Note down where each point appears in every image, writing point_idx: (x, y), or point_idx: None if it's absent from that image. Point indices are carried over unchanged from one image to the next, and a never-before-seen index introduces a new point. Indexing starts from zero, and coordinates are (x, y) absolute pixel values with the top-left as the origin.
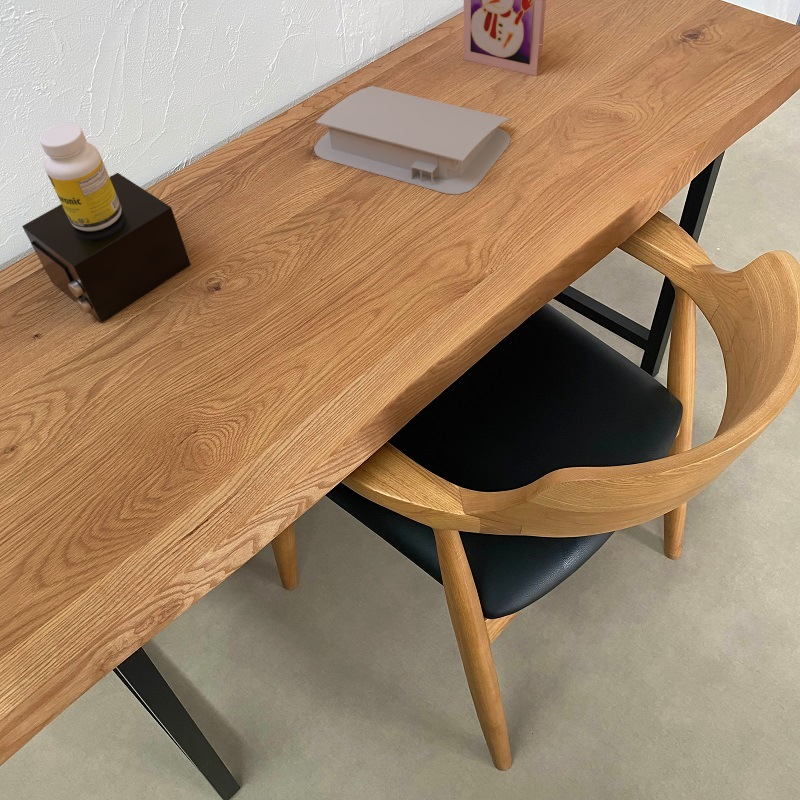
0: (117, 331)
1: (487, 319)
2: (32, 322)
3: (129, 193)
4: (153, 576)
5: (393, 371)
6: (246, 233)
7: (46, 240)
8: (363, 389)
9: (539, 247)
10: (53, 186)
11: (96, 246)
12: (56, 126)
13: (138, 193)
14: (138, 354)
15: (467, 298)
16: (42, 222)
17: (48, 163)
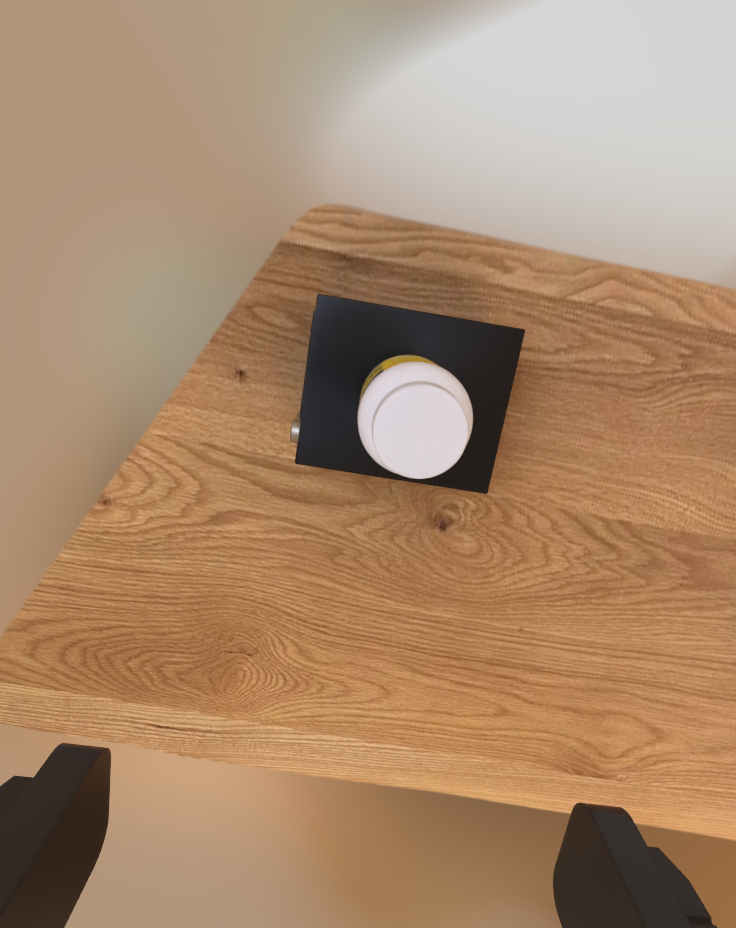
0: (310, 467)
1: (546, 808)
2: (254, 344)
3: (484, 401)
4: (107, 728)
5: (431, 769)
6: (559, 484)
7: (314, 371)
8: (393, 758)
9: (684, 803)
10: (361, 396)
11: (348, 460)
12: (438, 400)
13: (491, 415)
14: (296, 521)
15: (568, 778)
16: (344, 321)
17: (370, 409)
